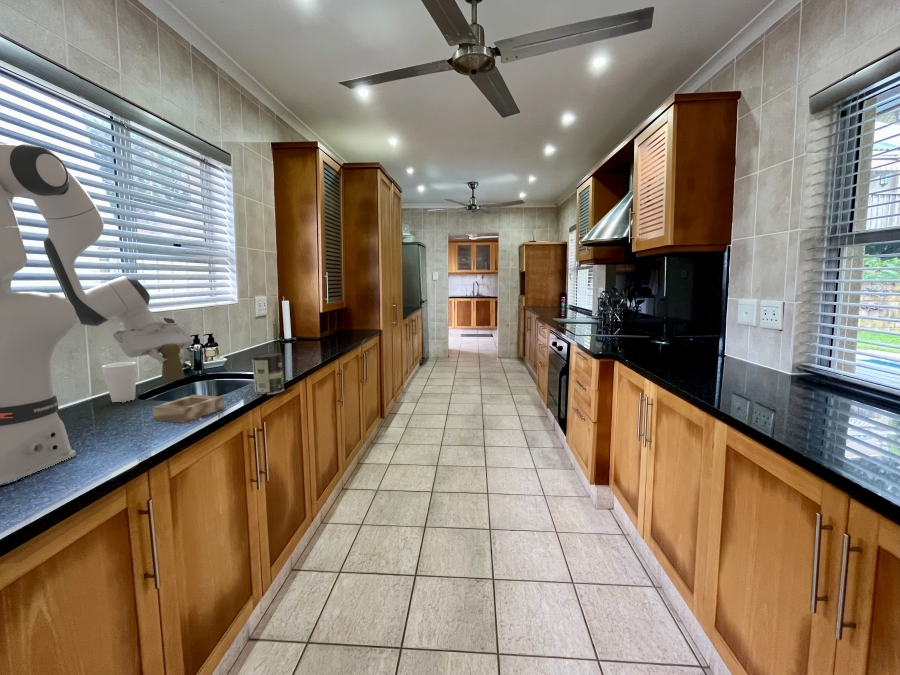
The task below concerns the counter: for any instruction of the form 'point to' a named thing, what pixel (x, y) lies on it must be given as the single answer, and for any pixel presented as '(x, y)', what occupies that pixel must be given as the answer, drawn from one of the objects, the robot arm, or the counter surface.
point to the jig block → (187, 408)
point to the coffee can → (268, 373)
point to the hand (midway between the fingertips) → (173, 360)
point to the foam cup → (120, 380)
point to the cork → (171, 363)
